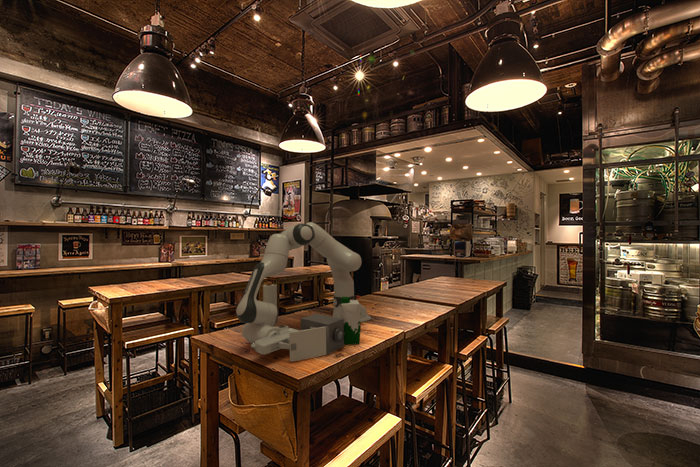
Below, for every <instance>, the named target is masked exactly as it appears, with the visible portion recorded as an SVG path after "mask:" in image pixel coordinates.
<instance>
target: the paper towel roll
mask: <svg viewBox="0 0 700 467" xmlns="http://www.w3.org/2000/svg"><path fill="white" fill-rule="evenodd" d="M277 284H278V283H275V284H271V283H270V284H269V283H267V284H264V285H262V294H263V296H262V297H263V301H262V302H268V303H272V304H275V305H276V307H277V308H278V294H277V293H278V287H277Z"/></svg>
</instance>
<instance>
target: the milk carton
mask: <svg viewBox="0 0 700 467" xmlns="http://www.w3.org/2000/svg"><path fill="white" fill-rule="evenodd" d="M359 303H360V302H359V299H356V300H350V297H341V302H340V305H341V307H340V318H341V319H343V320H344V346H347V345H348V346H349V345H352V346H353V345H360V340H361V333H362V331H361V328H362V327H361V326H362V325H361V323H362V322H361V321H360V305H359Z"/></svg>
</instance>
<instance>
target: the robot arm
mask: <svg viewBox="0 0 700 467" xmlns="http://www.w3.org/2000/svg"><path fill="white" fill-rule="evenodd" d="M307 245H309V246H310V247H312V249H314V251H316V252H317V253H318V254H320V255H321V256H322V257H324V258H326V263H327V265H328V266H329V268H330V272H331V276H332V280H333V299H332V300H333V312H332V317H336V318H340V307H341V305H340V302H341V297H350V300H360V299H361V295H356V294H355V283H354V282H355V281H354V279H353V278H352V276H351V274H350V272H356V271H358V270H359V269H360V268H361V266H362V257H361V255H360V254H359V253H357V252H355V251H353V250H352V249H350V248H349V247H347V246H345V245H344V244H342V243H341V242H339V241H338V240H336V239H335V238H334V237H333V236H332V235H330V234H329V232H328V231H326V230H324V229H323V227H321V226H320V225H318V224H317V223H314V222H311V221H309V222H307V223H298V224H296V225H292V226H290V227H288V228H287V229H284V230H282V231H281V232H280V233H273V234H271V235H270V237H269V238H268V241H267V244H266V246H265V250H264V254H263V257H262V259H261V261H260V262H258V263H257V264H255V265H254V267H253V269H252V272H251V274H250V276H249V279H248V281H247V285H246V286H245V288H244V292H243V294H242V297H241V299H240V300H239V301H238V303H237V305H236V307H235V308H236V309H235V314H236V317H237V319H238V320H239V322H240V323H242V324H244V325H243V327H242V330H241V332H242V336H243V338H244V340H246V341H247V342H249V343H250V348H251V349H254V351H255V352H256V353H258V354H260V355H268V354H270V353H272V352H275V351H278V350H280V349H281V350H282V349H283V350H285V349H286V350H290V345H289V332H295V331H300V330H299V329H295V328H291V327H289V326H288V325H281V326H276V324H277V322H278V319H279V309H278V306H277V307H276V305H275V304H272V303H268V302H263V301H262V300H257V296H258V293H259V290H260V287H261V285H262V282H263V281H264V279H265V278H267V277H274V276H278V275H280V274H282V273H283V272H284V271H285V270H286V268H287V265H288V258H289V254H290V251H291V250H292V251H293V250H297V249H299V248H301V247H304V246H307ZM359 305H360V321H361V323H363V322H366V321H367V322H368V321H370V320H372V317H371V315H369V314H368V311H367V308H366V307H365V306H364V305H363V304H361V303H360V302H359Z"/></svg>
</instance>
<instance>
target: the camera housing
mask: <svg viewBox="0 0 700 467" xmlns="http://www.w3.org/2000/svg"><path fill="white" fill-rule="evenodd" d="M326 326H329V354H328V355H330V354H332V353H334V352H336V351H339V350H340V349H342V348H344V347H345V345H344V320H343V319H341V318H336V317H333V316H331V315H327V314H321V313H314V314H311V315H307V316H304V317H301V318H300V331H301V330H307V329H313V328H319V327H326Z"/></svg>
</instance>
